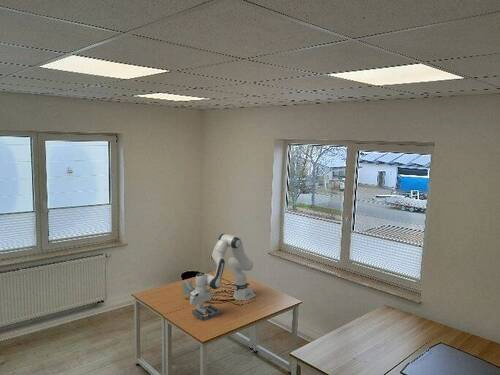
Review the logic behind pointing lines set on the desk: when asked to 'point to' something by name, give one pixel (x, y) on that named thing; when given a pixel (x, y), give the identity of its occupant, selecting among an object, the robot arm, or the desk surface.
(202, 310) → the panel
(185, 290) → the bracket
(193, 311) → the rack
